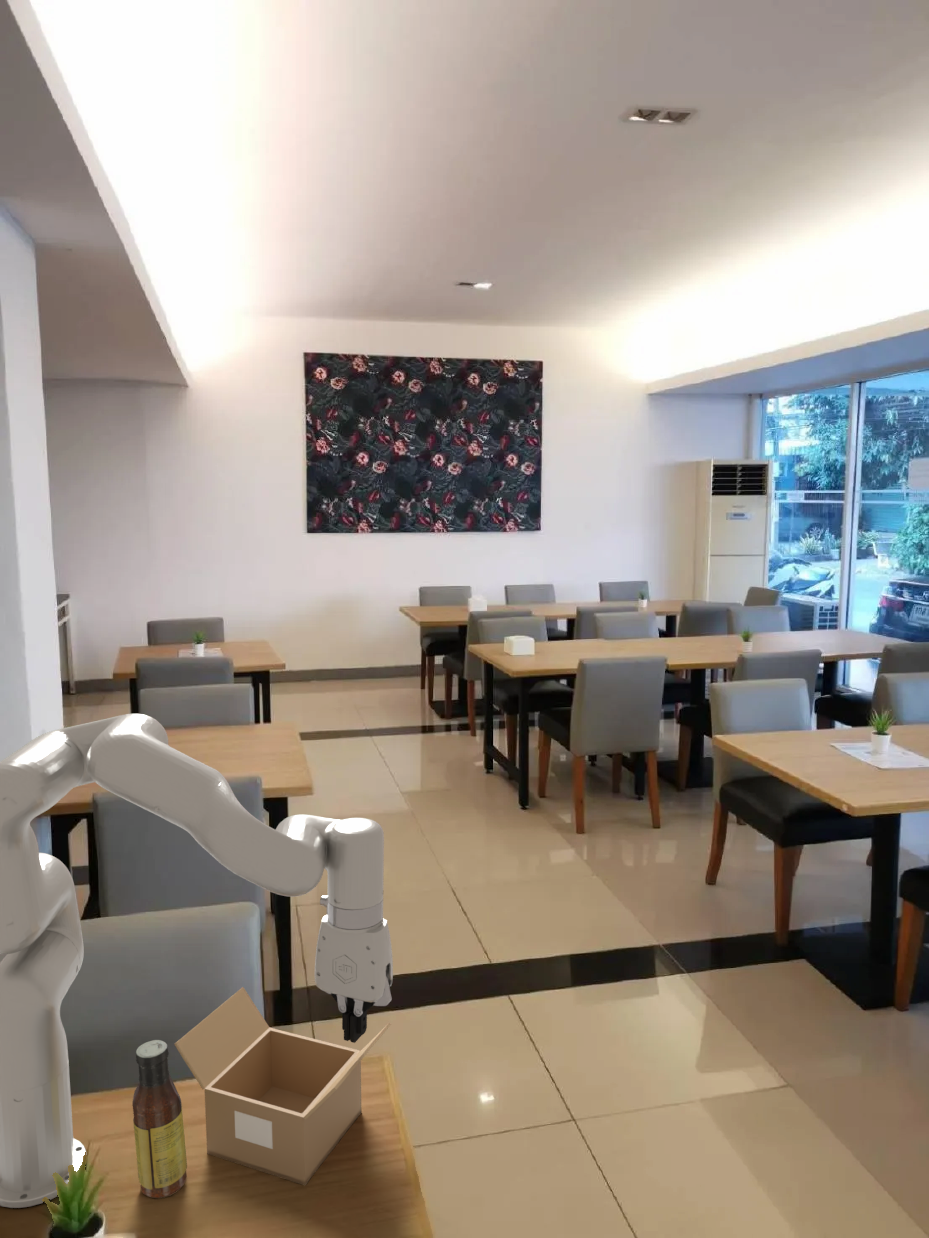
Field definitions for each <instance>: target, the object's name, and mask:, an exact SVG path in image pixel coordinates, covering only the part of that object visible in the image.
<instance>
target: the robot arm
mask: <svg viewBox="0 0 929 1238" xmlns="http://www.w3.org/2000/svg"><path fill="white" fill-rule="evenodd" d="M92 783H95V784H96V785H98V786H99V787H100V788H102V789H104V790H106V791H108V792H109V793H111V794H114V795H115V796H117V797H119V798H122V800H123V799H124V800H125V801H127V802H129V803H132V804H133V805H136V806H137V807H140V808H141V809H143V810H145V811H147V812H149V813H152V814H154V815H155V816H158V817H160V818H161V819H164V820H165V821H167V822H169V823H171V824H173V825H175V826H177V827H178V828H181V829H183V830H184V831H186V832H187V833H188V834H189V835H190V836H191V837H192V838H193V839H194V840H195V841H196V843H197V844H198V845H199V846H200V847H202V849H204V851H206V852H207V853H208V854H209V855H210V856H211V857H212V858H213V859H215V860H216V861H217V862H218V863H219V864H221V866H223V867H224V868H226V869H227V870H228V871H230V872H231V873H232V874H234V875H236V876H238V877H240V878H242V879H244V880H246V881H248V882H250V883H252V884H254V885H256V886H257V887H259V888H262V889H264V890H266V891H268V892H270V893H273V894H275V895H279V896H284V897H301V896H304V895H307V894H308V893H310V892H311V891H313V890H314V889H315V888H316V887H317V886H318V884H319V883H320V881H321V880H322V877H323V875H324V871H325V870H326V871H327V895H322V896H321V897H320V899H319V904H320V906H321V907H325V908H326V914H325V915H324V916H323V917H322V919H321V922H320V926H319V931H318V935H317V936H318V937H317V942H316V949H315V950H316V951H315V958H314V983H315V986H316V987H317V988H318V989H320V990H321V991H323V992H325V993H326V994H328V995H331V997H332V998H333V1000H334V1001H335V1002H336V1004H337V1007H338V1011H339V1012H340V1013H342V1015H341V1018H342V1021H341V1024H342V1025H341V1027H342V1028H341V1029H342V1030H343V1040H344V1041H347V1042H349V1041H350V1042H351V1043H354V1044H355V1043H357V1042H358V1040H359V1039H360V1037H362V1036H363V1035H364V1034H365V1033H366V1032H367V1028H368V1026H367V1025H368V1022H367V1021H368V1020H367V1019H368V1010H370V1008H372V1007H374V1006H375V1007H386V1006H388V1005H389V1004H390V1002H392V999H393V998H392V994H391V988H390V987H392V984H393V979H394V978H393V977H394V966H393V965H394V964H393V963H394V961H393V951H392V950H393V949H392V942H391V941H392V940H391V933H390V927H389V924H388V920H387V919H386V918H384V866H385V864H384V860H385V859H384V857H385V855H384V854H385V853H384V852H385V850H384V849H385V835H384V834H385V833H384V832H385V831H384V829H383V828H382V826H381V824H379V822H377V821H375V820H373V819H371V818H365V817H349V818H343V819H339V818H337V819H336V818H331V817H324V816H319V815H313V814H306V813H305V814H302V813H300V814H294V815H293V814H292V815H291V816H287V817H286V818H283V820H282V821H280V822H279V823H278V825H277V826H276V828H273V827H271V826H269V825H267V824H266V823H264V822H262V820H260V819H258V818H256V817H255V816H254V815H253V814H251V813H250V812H249V811H248V810H247V809H246V808H245V807H244V806H243V805H242V804H241V802H240V801H239V800H238V798H237V797H236V795H235V794H234V791H233V790H232V787H231V786H230V783H229V782H228V780H227V779H226V778H225V776H224V774H222V773H221V772H220V771H219V770H217V769H216V768H214V767H212V766H209V765H207V764H205V763H203V762H201V761H200V760H197V759H195V758H193V757H192V756H189V755H188V754H186V753H184V752H181V751H180V750H177V749H176V748H174V747H173V746H170V745H169V737H168V733H167V731H166V729H165V728H164V726H163V724H162V723H160V722H159V721H158V720H157V719H155V718H154V717H152V716H149V715H147V714H143V713H126V714H119V715H116V716H112V717H108V718H105V719H104V718H103V719H99V720H96V721H95V720H94V721H90V722H86V723H81V724H77V725H72V726H68V727H67V726H66V727H63V728H59V729H55V730H51V731H48V732H45V733H42V734H40V735H39V736H36V737H35V738H33V739H31V740H30V741H28V743H26V744H24V746H22V747H20V748H19V749H17V750H15V751H14V752H12V753H11V754H9V755H8V756H7V757H5V758H4V759H2V760H0V955H5V956H4V957H3V959H2V960H1V961H0V1207H3V1208H4V1207H5V1208H10V1209H13V1208H14V1209H17V1208H18V1209H21V1208H27V1207H33V1206H36V1205H40V1204H43V1201H42V1199H43V1198H44V1197H47V1198H48V1199H50V1200H49V1201H51V1200H53V1199H54V1198H55V1199H56V1197H58V1196H57V1190H56V1184H55V1181H54V1178H53V1176H52V1175H53V1173H55V1172H56V1173H58V1174H59V1175H60V1176H61V1177H62V1178H63V1180H64V1182H65V1183H66V1184H68V1182H69V1180H68V1178H69V1172H68V1166H69V1165H73V1167H74V1171H76V1172H77V1171H78V1170H79V1168H80V1166H81V1165H82V1162H83V1156H84V1155H85V1152H86V1153H87V1150H86V1147H85V1146H84V1144H83V1143H82V1142H81V1141H80V1140H78V1139H76V1138H74V1128H73V1113H72V1097H71V1094H72V1093H71V1082H70V1081H71V1080H70V1066H69V1065H70V1064H69V1063H70V1062H69V1051H68V1049H69V1048H68V1041H67V1034H66V1031H65V1028H64V1025H63V1022H62V1018H61V1006H62V1002H63V999H64V998H65V996H66V994H67V993H68V991H69V989H70V987H71V986H72V984H73V983H74V981H75V979H76V978H77V976H78V974H79V973H80V972H79V971H80V970H81V968H82V964H83V960H84V955H85V952H84V950H85V949H84V941H83V940H84V939H83V938H84V937H83V933H82V926H81V919H80V913H79V905H78V899H77V894H76V887H75V883H74V879H73V876H72V874H71V872H70V871H69V868H68V867H67V865H66V864H64V863H63V861H61V860H60V859H59V858H57V857H55V856H53V855H52V854H49V853H47V852H46V853H45V852H40V851H39V850H40V849H39V843H38V840H37V837H36V834H35V832H34V829H33V827H32V826H31V822H32V821H33V820H34V819H35V818H36V817H38V816H40V815H41V814H43V813H45V812H46V811H49V810H50V809H51V808H52V807H53V806H55V805H56V804H57V803H59V801H60V800H61V799H63V798H64V797H65V796H67V794H68V793H69V792H70V791H71V790H73V788H74V789H75V788H77V787H81V786H84V785H89V784H92Z"/></svg>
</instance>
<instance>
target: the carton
mask: <svg viewBox="0 0 929 1238" xmlns="http://www.w3.org/2000/svg"><path fill="white" fill-rule="evenodd" d="M360 1051H361V1050H359V1049H356V1048H351V1047H348V1046H344V1045H340V1044H336V1043H331V1042H328V1041H323V1040H320V1039H316V1038H312V1037H308V1036H304V1035H300V1034H296V1033H293V1032H289V1031H284V1030H280V1029H277V1028H274V1027H273V1028H272V1027H270V1026H269V1028H268V1029H267V1030H266V1031H265V1032H264V1033H263V1034H262V1035H261V1036H260V1037H259V1038H258V1039H257V1040H256V1041H255V1042H254V1043H252V1044H251V1045H250V1046H249V1047H248V1048H247V1049H246V1050H245V1051H244V1052H243V1053H242V1054H241V1055H240V1056H239V1057H238V1058H237V1059H235V1060H234V1061H233V1062H232V1063H231V1064H230V1065H229V1066H228V1067H227V1068H226V1069H225V1070H224V1071H223V1072H222V1073H221V1074H219V1075H218V1076H217V1077H216V1078H215V1079H214V1080H213V1081H212V1082H211V1083H210V1084H209V1085H208V1086H207V1087H206V1088H205V1089H204V1105H205V1106H204V1107H205V1109H204V1110H205V1134H206V1154H207V1155H210V1156H213V1157H216V1158H219V1159H222V1160H225V1161H228V1162H231V1163H235V1164H238V1165H240V1166H245V1167H247V1168H250V1169H253V1170H256V1171H259V1172H262V1173H264V1174H269V1175H272V1176H275V1177H277V1178H281V1179H284V1180H287V1181H290V1182H293V1183H297V1184H299V1185H303V1186H306V1185H307V1184H308V1182H309V1181H310V1180H311V1179H312V1177H313V1176H314V1174H315V1173H316V1172H317V1171H318V1169H319V1168H321V1166H322V1164H323V1163H324V1162H325V1160H326V1159H327V1158H328V1156H329V1155H330V1154H331V1152H333V1150H334V1149H335V1147H336V1146H337V1145H338V1144H339V1142H340V1141H341V1140H342V1138H343V1137H344V1136H345V1134H347V1131H349V1129H350V1128H351V1126H352V1125H354V1123H355V1121H356V1120H357V1118H359V1116H360V1115H361V1114H362V1112H363V1111H362V1060H361V1061H360V1062H359V1063H358V1065H357V1066H356V1067H355V1068H354V1069H353V1071H352V1072H351V1073H350V1074H349V1075H348V1077H347V1078H346V1079H345V1080H344V1081H343V1082H342V1084H341V1085H340V1086H339V1087H338V1088H337V1090H336V1091H335V1092H334V1093H333V1094H331V1095H330V1096H329V1097H328V1098H327V1099H326V1100H325V1101H324V1102H323V1103H322V1104H321V1105H320V1106H319V1107H318V1108H317V1109H316V1110H315V1111H314V1112H313V1113H312V1114H311V1115H310V1116H309V1117H308V1118H307V1119H306V1120H305V1119H304V1116H305V1115H306V1114H307V1113H308V1112H309V1111H310V1109H311V1108H312V1107H313V1106H314V1105H315V1104H316V1102H317V1101H318V1100H319V1099H320V1098H321V1096H322V1095H323V1094H324V1093H325V1092H326V1091H327V1089H328V1088H329V1087H330V1086H331V1085H332V1084H333V1082H334V1081H335V1080H336V1079H337V1078H338V1077H339V1075H340V1074H341V1073H342V1072H343V1071H344V1070H345V1068H346V1067H347V1066H348V1065H349V1064H350V1063H351V1061H352V1060H353V1059H354V1058H355V1057H356V1056H357V1054H358V1053H359V1052H360Z"/></svg>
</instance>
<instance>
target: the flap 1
mask: <svg viewBox="0 0 929 1238" xmlns="http://www.w3.org/2000/svg"><path fill="white" fill-rule="evenodd" d="M269 1027H270V1026H269V1024H268V1023H267V1021H266V1020H265V1019H264V1016H263V1014H261V1012H260V1010H259V1009H258V1007H257V1006H256V1004H255V1003H254V1002H253V1000H252V998H251V996H250V995H249V994H248V992H247V991H246V989H245V988H244V987H243V986H242V987H241V988H240V989H238V990H237V991H236V992H235V993H234V994H232V995H231V996H230V997H229V998H227V1000H225V1001H224V1002H222V1003H221V1004H220V1005H218V1007H217V1008H216V1009H214V1010H213V1011H212V1012H211V1013H209V1014H208V1015H207V1016H206V1017H205V1018H204V1019H202V1020H201V1021H200V1022H199V1023H198V1024H197V1025H195V1026H194V1027H193V1028H191V1029H190V1030H189V1031H188V1032H187V1033H186V1034H185V1035H183V1036H182V1037H181V1038H180V1039H178V1040H177V1041H176V1042H174V1043H173V1045H174V1047H175V1048H176V1050H177V1051H178V1053H179V1054H180V1056H181V1057H182V1060H183V1061H184V1062H185V1064H186V1066H187V1067H188V1069H189V1070H190V1073H192V1075H193V1077H194V1078H195V1080H196V1082H197V1083H198V1085H199V1086H200V1088H201V1089H202V1090H205V1088H206V1087H207V1086H208V1085H209V1084H210V1083H211V1082H212V1081H213V1080H214V1079H215V1078H216V1077H217V1076H218V1075H219V1074H221V1073H222V1072H223V1071H224V1070H225V1069H226V1068H227V1067H228V1066H229V1065H230V1064H231V1063H232V1062H233V1061H234V1060H235V1059H237V1058H238V1057H239V1056H240V1055H241V1054H242V1053H243V1052H244V1051H245V1050H246V1049H247V1048H248V1047H249V1046H250V1045H251V1044H252V1043H254V1042H255V1041H256V1040H257V1039H258V1038H259V1037H260V1036H261V1035H262V1034H263V1033H264V1032H265V1031H266V1030H267V1029H268V1028H269Z"/></svg>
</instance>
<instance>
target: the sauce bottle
mask: <svg viewBox="0 0 929 1238" xmlns="http://www.w3.org/2000/svg"><path fill="white" fill-rule="evenodd" d="M169 1054H170V1053H169V1046H168V1044H167V1043H166V1042H165V1041H163V1040H161V1039H153V1040H150V1041H147V1042H144V1043H142V1044H141V1045H139V1046H138V1047H137V1048H136V1051H135V1061H136V1064H137V1065H138V1075H139V1076H138V1085H137V1086H136V1087H135V1090H134V1092H133V1097H132V1105H131V1106H132V1112H133V1113H132V1114H133V1119H132V1121H133V1131H134V1132H133V1133H134V1144H135V1145H134V1146H135V1152H136V1165H137V1175H138V1183H139V1184H140V1189H141V1192H142V1193H143V1195H145V1196H147V1197H149V1198H153V1199H162V1198H163V1199H164V1198H167V1197H170V1196H172V1195H173V1194H175V1193H177V1192H178V1191H180V1190H181V1189H182V1187H183V1186H184V1185H185V1183H186V1181H187V1168H188V1161H187V1160H188V1159H187V1150H186V1149H187V1148H186V1139H185V1128H184V1116H183V1115H184V1114H183V1105H182V1099H181V1096H180V1094H179V1092H178V1090H177V1087H176V1085H175V1083H174V1081H173V1078H172V1077H171V1074H170V1069H169V1059H168V1057H169Z"/></svg>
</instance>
